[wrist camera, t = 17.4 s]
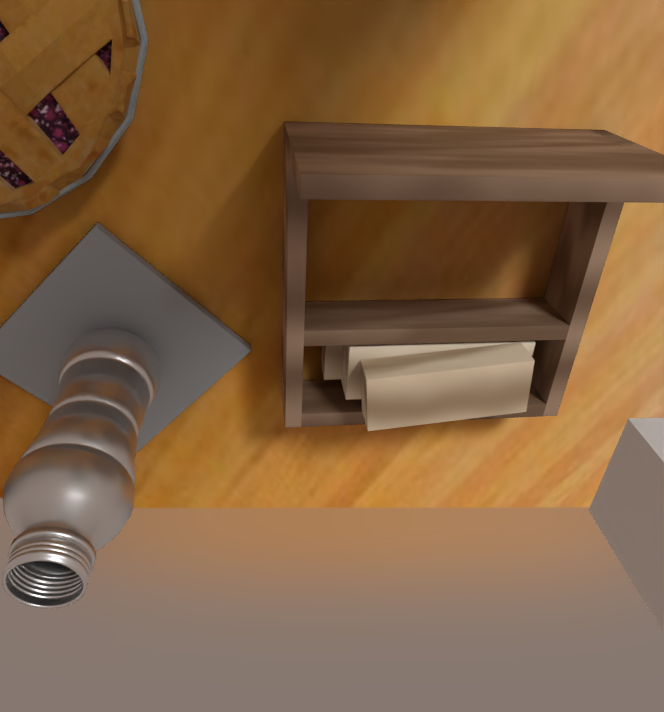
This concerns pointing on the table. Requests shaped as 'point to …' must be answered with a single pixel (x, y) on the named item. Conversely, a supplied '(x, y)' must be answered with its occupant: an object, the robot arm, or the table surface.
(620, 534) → the robot arm
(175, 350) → the grey mat
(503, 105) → the table surface
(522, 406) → the offcut top
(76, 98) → the pie
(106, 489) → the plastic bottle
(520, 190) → the walnut rack
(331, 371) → the offcut bottom
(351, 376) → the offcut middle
